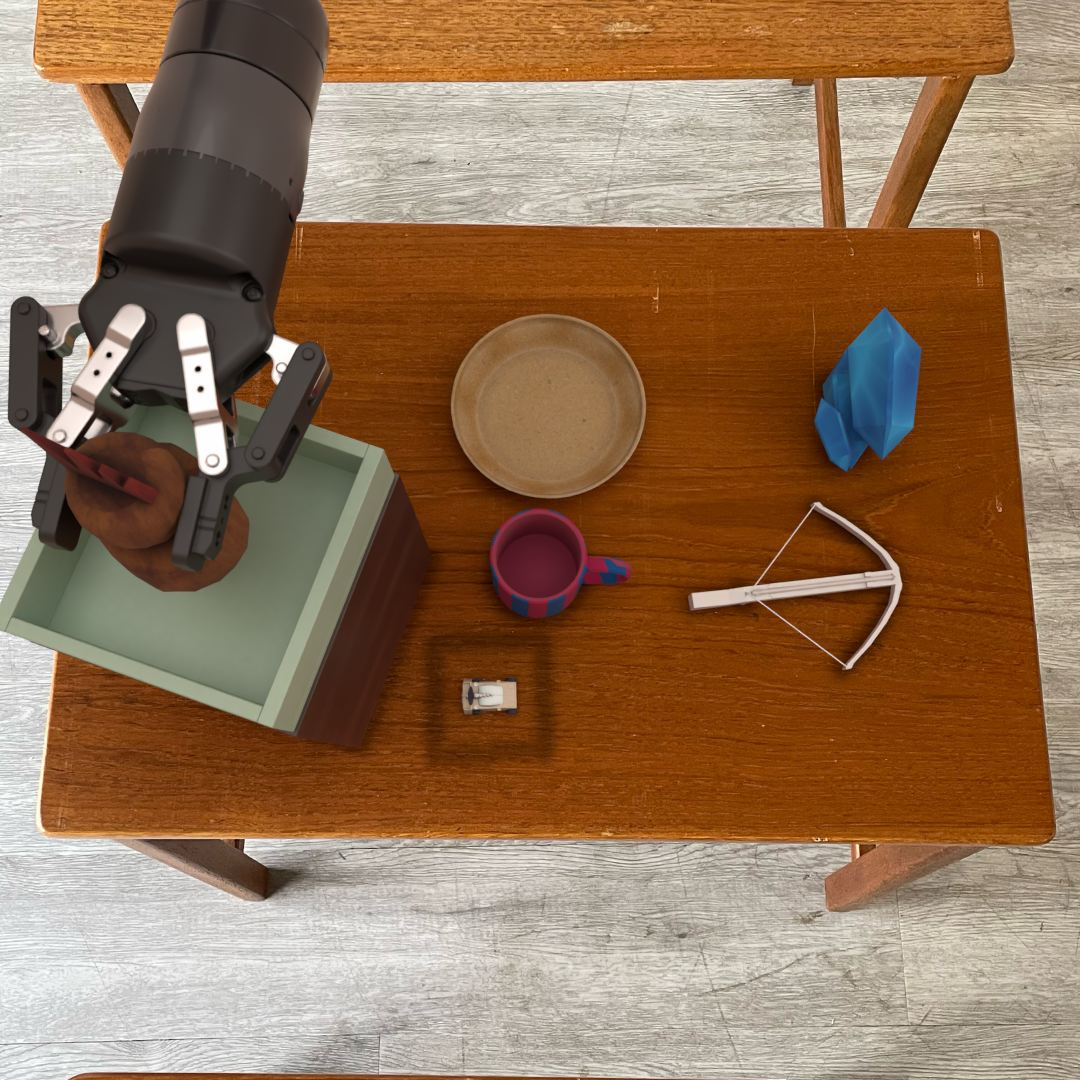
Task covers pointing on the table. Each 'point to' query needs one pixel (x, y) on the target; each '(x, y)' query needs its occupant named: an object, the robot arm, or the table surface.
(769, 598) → the crossbow
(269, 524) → the bin
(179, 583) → the wooden figurine
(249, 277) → the robot arm
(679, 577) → the table surface
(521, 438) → the plant saucer
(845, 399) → the crystal
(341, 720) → the plinth
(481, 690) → the toy car
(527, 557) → the cup
